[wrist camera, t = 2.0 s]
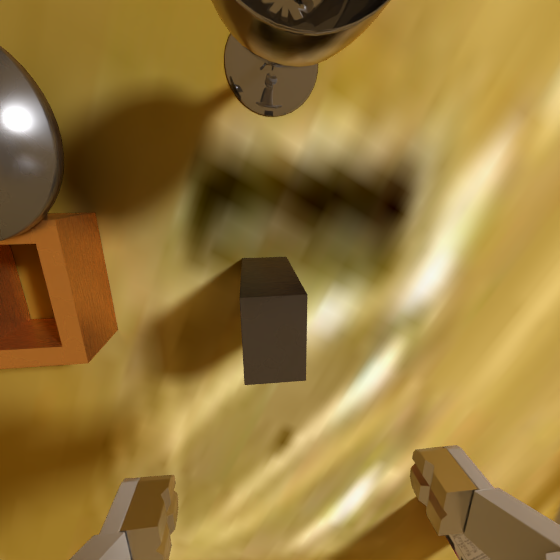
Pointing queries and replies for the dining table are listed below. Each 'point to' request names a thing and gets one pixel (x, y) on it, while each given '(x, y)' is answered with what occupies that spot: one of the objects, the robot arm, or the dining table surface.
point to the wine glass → (286, 46)
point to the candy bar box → (465, 548)
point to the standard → (45, 237)
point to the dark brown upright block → (272, 321)
